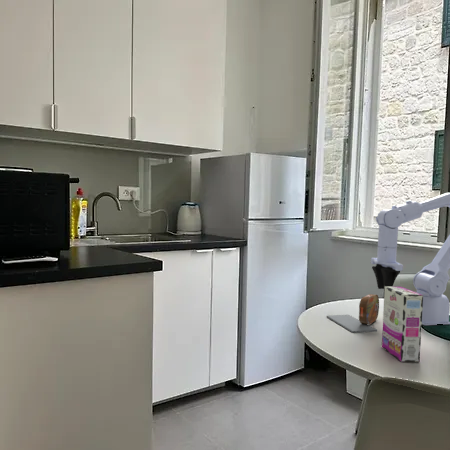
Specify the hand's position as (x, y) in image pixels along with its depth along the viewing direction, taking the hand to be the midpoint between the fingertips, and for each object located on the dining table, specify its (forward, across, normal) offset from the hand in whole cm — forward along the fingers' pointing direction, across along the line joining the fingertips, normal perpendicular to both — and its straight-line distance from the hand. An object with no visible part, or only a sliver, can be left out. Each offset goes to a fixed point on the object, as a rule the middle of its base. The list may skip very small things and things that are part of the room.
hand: (384, 289), depth 138 cm
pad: (+11, 0, -11) cm, 15 cm away
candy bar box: (+11, +27, -12) cm, 32 cm away
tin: (+10, 0, -5) cm, 12 cm away
